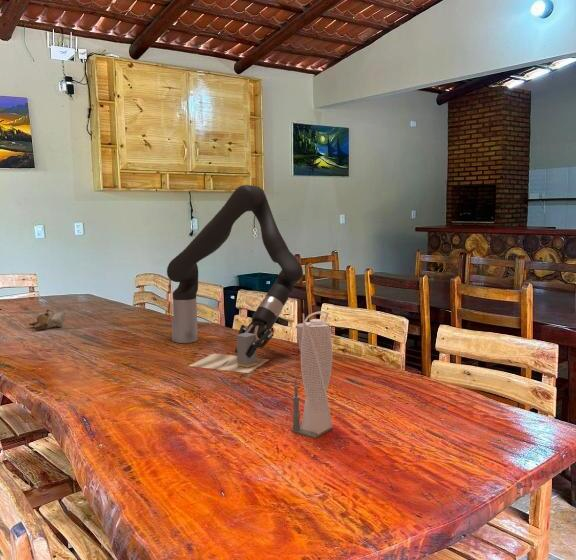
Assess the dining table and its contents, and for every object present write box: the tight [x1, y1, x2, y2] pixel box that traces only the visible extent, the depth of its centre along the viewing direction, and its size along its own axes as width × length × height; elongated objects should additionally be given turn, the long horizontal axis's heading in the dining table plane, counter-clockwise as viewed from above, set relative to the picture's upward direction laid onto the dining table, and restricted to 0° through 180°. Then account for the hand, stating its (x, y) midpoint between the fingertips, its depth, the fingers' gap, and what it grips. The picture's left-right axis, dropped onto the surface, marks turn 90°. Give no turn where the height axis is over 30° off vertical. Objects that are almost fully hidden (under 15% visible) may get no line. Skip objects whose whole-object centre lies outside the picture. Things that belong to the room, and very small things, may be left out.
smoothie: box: [295, 313, 305, 353], centre depth 198 cm, size 6×6×14 cm
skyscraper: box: [290, 310, 333, 439], centre depth 126 cm, size 8×8×28 cm
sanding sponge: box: [235, 333, 258, 367], centre depth 175 cm, size 4×4×10 cm
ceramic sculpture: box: [28, 309, 66, 330], centre depth 242 cm, size 11×9×15 cm
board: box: [188, 353, 270, 379], centre depth 179 cm, size 22×16×2 cm
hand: (242, 354), depth 174 cm, fingers closed on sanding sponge, 4 cm apart
